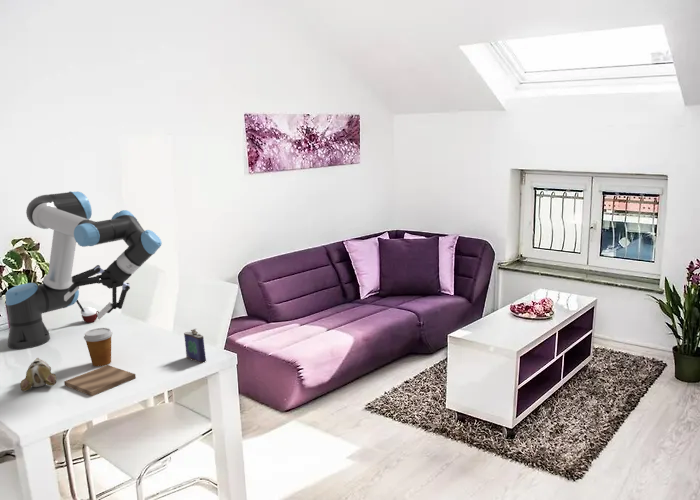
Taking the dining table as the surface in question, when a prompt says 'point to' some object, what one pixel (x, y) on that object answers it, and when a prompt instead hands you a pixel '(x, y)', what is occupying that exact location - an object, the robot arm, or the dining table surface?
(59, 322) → the dining table surface
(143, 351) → the dining table surface
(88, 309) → the cocoa
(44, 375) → the ceramic sculpture
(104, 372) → the walnut board
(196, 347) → the flask
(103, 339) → the disposable coffee cup
